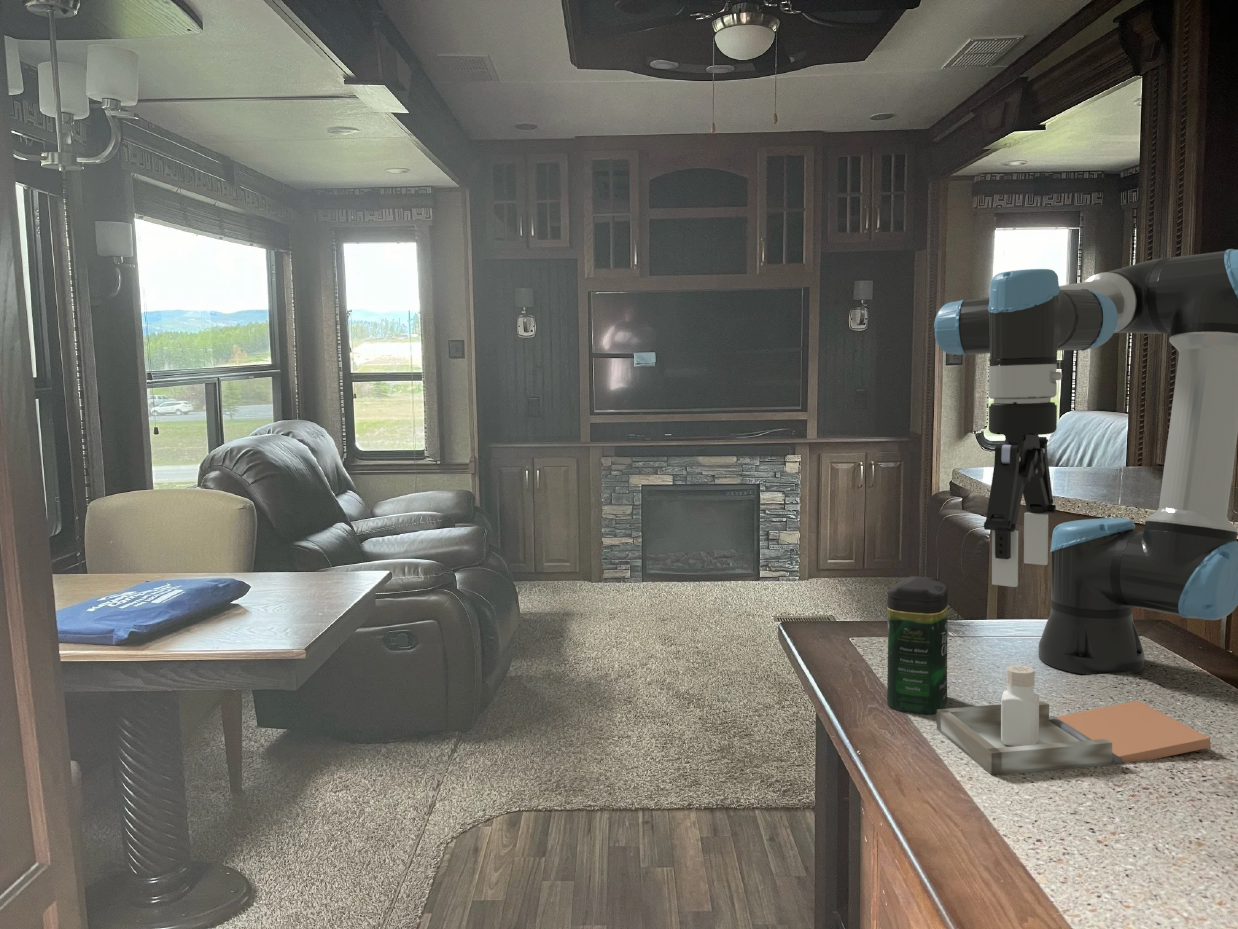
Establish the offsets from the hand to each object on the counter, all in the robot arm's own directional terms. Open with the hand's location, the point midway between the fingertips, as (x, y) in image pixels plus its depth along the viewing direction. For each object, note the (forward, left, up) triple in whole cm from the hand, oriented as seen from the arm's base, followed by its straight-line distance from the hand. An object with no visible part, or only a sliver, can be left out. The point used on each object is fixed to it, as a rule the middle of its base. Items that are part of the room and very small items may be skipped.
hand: (1021, 574), depth 111 cm
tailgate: (-8, 0, -22) cm, 23 cm away
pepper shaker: (0, 0, -22) cm, 22 cm away
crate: (0, 0, -23) cm, 23 cm away
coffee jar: (+6, -17, -23) cm, 29 cm away
